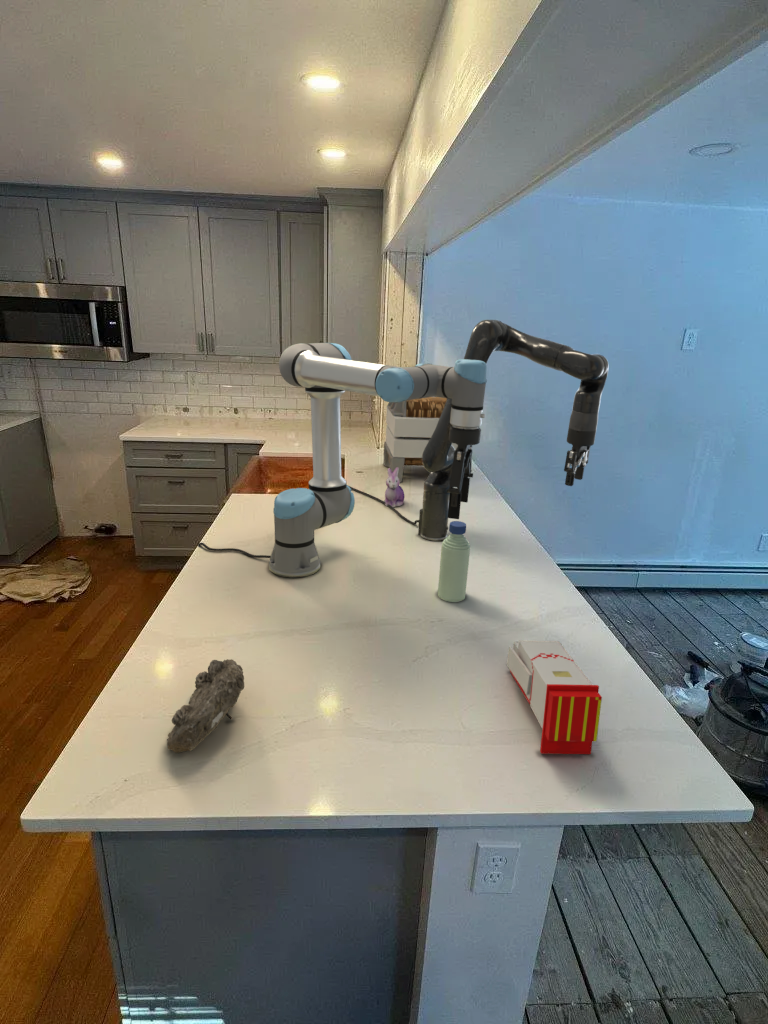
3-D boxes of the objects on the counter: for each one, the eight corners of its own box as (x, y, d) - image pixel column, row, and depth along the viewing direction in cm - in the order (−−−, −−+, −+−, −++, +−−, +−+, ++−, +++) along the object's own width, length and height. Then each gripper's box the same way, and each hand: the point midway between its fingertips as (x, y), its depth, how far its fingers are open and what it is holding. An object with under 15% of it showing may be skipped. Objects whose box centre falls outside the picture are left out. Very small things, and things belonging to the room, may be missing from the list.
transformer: (382, 463, 289) (386, 382, 275) (445, 464, 293) (451, 384, 279) (390, 482, 257) (394, 392, 243) (460, 483, 261) (468, 394, 247)
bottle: (456, 587, 163) (463, 519, 156) (470, 599, 157) (477, 528, 149) (432, 591, 160) (438, 521, 153) (445, 603, 154) (452, 531, 147)
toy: (555, 623, 127) (611, 693, 98) (549, 678, 130) (602, 761, 101) (501, 622, 127) (542, 691, 98) (497, 677, 130) (535, 760, 100)
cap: (460, 527, 155) (461, 520, 154) (468, 533, 151) (469, 525, 150) (446, 529, 153) (446, 521, 152) (454, 535, 149) (454, 527, 148)
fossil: (192, 660, 117) (244, 628, 112) (224, 691, 120) (276, 661, 115) (142, 746, 98) (202, 712, 93) (182, 779, 101) (242, 748, 96)
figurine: (389, 509, 224) (391, 472, 218) (377, 501, 232) (379, 465, 227) (410, 506, 228) (412, 470, 223) (398, 498, 236) (399, 463, 231)
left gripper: (473, 438, 124) (465, 528, 131) (487, 419, 147) (479, 497, 154) (440, 434, 126) (433, 523, 133) (458, 416, 148) (452, 493, 156)
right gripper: (577, 422, 167) (568, 474, 173) (561, 428, 156) (552, 484, 162) (603, 425, 163) (593, 479, 169) (588, 433, 152) (578, 490, 158)
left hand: (458, 509), depth 143 cm, fingers open, 13 cm apart
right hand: (573, 482), depth 165 cm, fingers open, 8 cm apart
